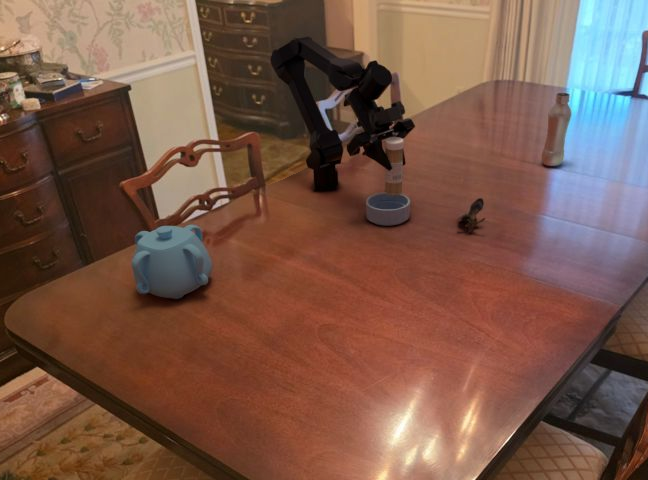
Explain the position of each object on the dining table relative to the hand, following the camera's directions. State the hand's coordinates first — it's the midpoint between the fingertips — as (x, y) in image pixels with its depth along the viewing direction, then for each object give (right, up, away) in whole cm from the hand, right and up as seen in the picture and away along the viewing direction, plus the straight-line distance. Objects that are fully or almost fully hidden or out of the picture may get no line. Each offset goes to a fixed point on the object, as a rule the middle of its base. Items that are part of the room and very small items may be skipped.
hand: (397, 167), depth 151 cm
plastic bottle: (+49, +11, +34) cm, 61 cm away
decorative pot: (-50, -31, -16) cm, 61 cm away
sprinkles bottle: (-1, -5, +5) cm, 7 cm away
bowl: (-2, -10, +8) cm, 13 cm away
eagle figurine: (+18, -14, +3) cm, 23 cm away
